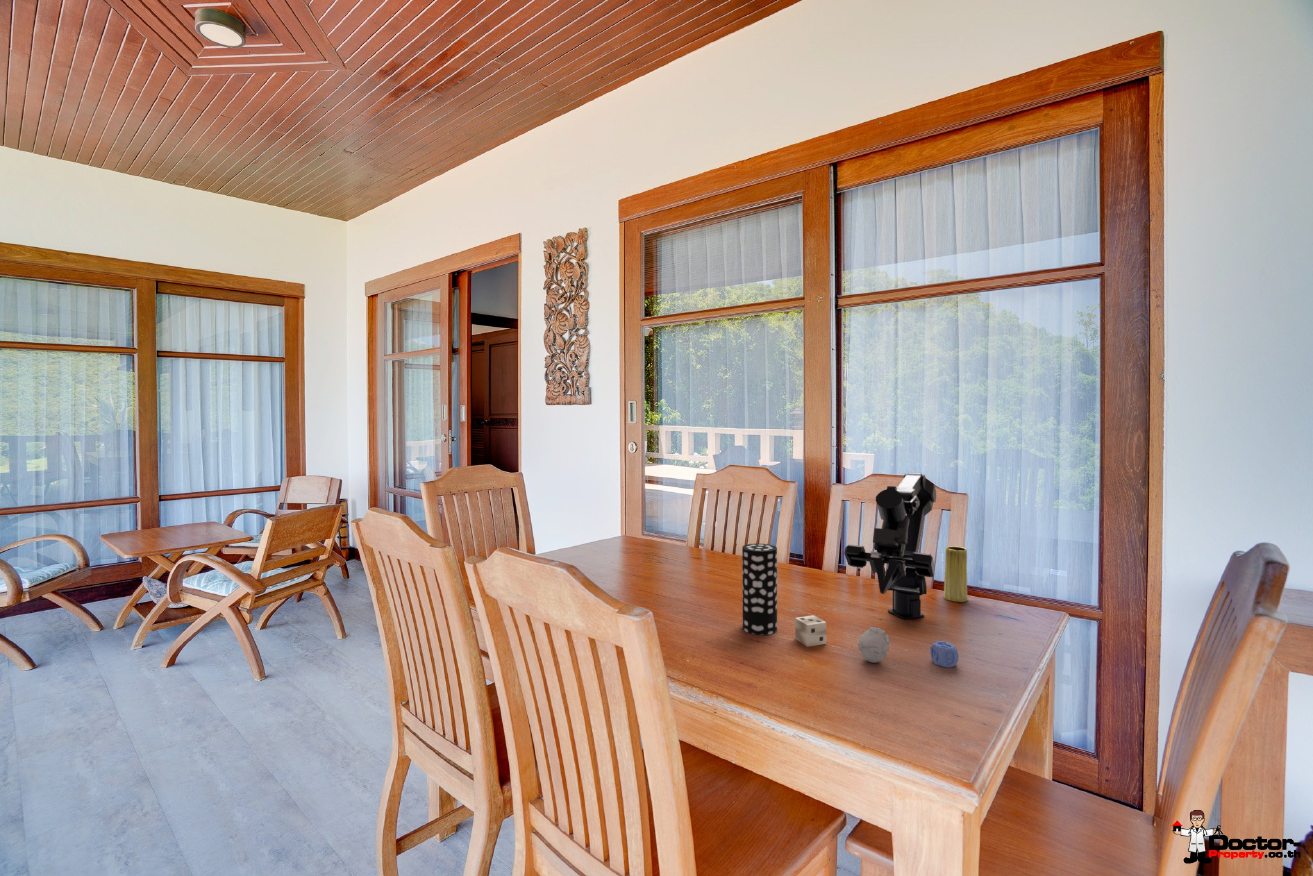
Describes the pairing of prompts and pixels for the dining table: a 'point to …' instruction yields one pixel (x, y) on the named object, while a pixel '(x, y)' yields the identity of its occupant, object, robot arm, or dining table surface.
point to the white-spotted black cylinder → (759, 588)
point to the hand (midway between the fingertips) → (882, 592)
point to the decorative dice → (944, 654)
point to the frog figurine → (874, 644)
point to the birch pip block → (810, 630)
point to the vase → (955, 574)
